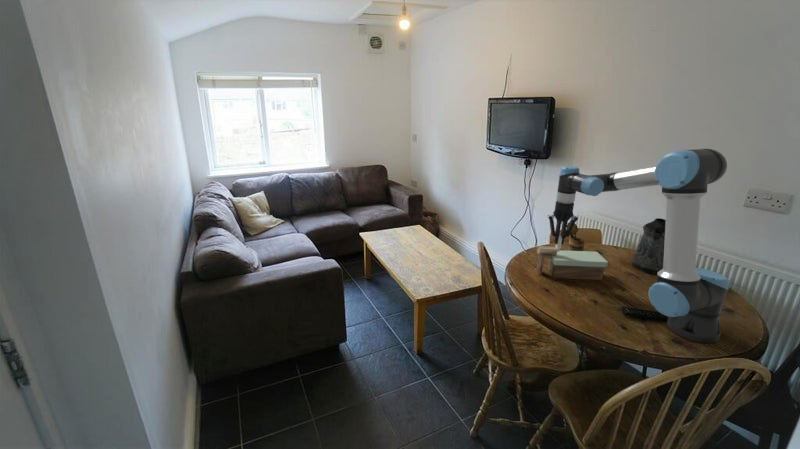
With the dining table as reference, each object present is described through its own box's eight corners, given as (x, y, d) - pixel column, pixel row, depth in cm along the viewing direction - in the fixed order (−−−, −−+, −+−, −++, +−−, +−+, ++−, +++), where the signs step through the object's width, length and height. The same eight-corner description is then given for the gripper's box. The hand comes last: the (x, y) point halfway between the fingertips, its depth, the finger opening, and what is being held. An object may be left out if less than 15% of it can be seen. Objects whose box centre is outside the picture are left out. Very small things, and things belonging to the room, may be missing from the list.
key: (556, 255, 175) (557, 249, 174) (538, 254, 176) (539, 248, 175) (554, 252, 178) (555, 246, 177) (537, 252, 179) (537, 246, 178)
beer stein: (660, 262, 193) (671, 215, 185) (679, 279, 175) (693, 228, 167) (625, 259, 196) (634, 213, 187) (640, 276, 177) (652, 225, 169)
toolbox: (601, 279, 174) (606, 258, 170) (540, 277, 176) (543, 256, 172) (593, 270, 183) (597, 250, 179) (535, 268, 185) (537, 248, 181)
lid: (606, 267, 170) (607, 262, 169) (554, 265, 172) (555, 260, 171) (596, 256, 181) (597, 251, 181) (546, 254, 183) (547, 249, 182)
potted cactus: (573, 252, 204) (579, 220, 198) (587, 262, 191) (593, 229, 185) (557, 252, 203) (562, 221, 198) (570, 263, 191) (575, 229, 185)
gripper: (577, 199, 171) (569, 247, 179) (547, 198, 172) (541, 246, 180) (583, 204, 164) (574, 254, 172) (552, 203, 165) (545, 252, 173)
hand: (557, 250), depth 176 cm, fingers closed
